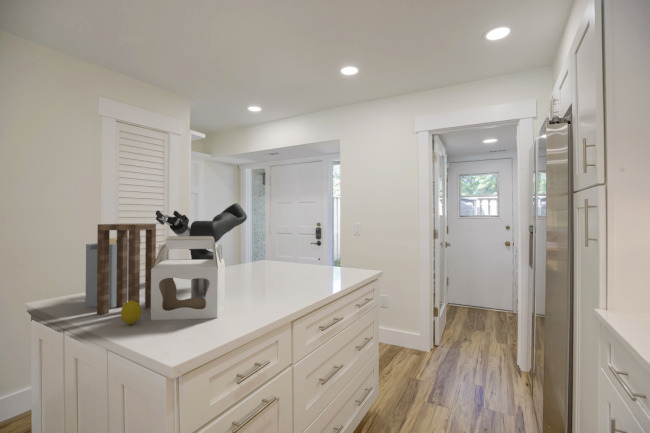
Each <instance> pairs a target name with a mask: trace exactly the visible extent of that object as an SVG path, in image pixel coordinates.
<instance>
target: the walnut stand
mask: <svg viewBox="0 0 650 433" xmlns="http://www.w3.org/2000/svg"><path fill="white" fill-rule="evenodd" d="M110 231H116V240H117V282H116V305H115V306H116V308H122V307H123V306H124V304H126V303H127V302H129V301H130V300H133V301H136V302H138V303H139V305H140V306H141V304H140V302H141V301H140V287H141V285H140V282H141V281H140V279H141V278H140V277H141V245H140V238H141V231H145V260H144V262H145V267H144V268H145V272H144V273H145V274H144V278H145V279H144V280H145V282H144V286H145V287H144V289H145V290H144V292H145V293H144V308H147V309H149V308H150V309H151V268H152V266H153V264H154V262H155V260H156V258H157V255H156V254H157V252H156V251H157V247H156V246H157V242H156V241H157V224H156V223H103V224H102V223H100V224H97V233H96V234H97V237H96V238H97V240H96V241H97V242H96V243H97V307H96V315H97V314H98V315H99V316H103V315H106V314H109V313H110V307H109V238H110V233H111V232H110ZM128 238H129V252H128V301H127V245H128Z"/></svg>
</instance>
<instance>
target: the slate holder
mask: <svg viewBox="0 0 650 433" xmlns="http://www.w3.org/2000/svg"><path fill="white" fill-rule="evenodd" d="M128 252H129V242H128V245H127V302H128ZM116 282H117V243H116V244H109V308H112V307H114V306H116ZM85 307H90V308H94V307H95V308H97V242H96V243H87V244H86V243H85Z"/></svg>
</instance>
